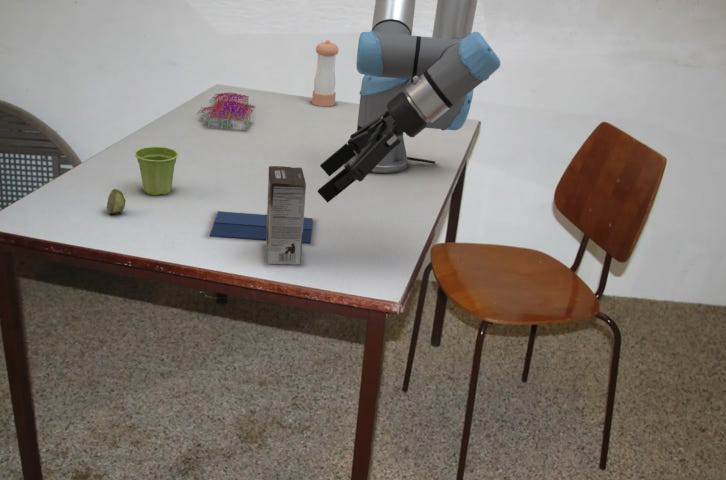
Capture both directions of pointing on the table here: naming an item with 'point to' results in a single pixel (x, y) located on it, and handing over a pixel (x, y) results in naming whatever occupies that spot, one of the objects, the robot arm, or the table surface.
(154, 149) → the plant pot
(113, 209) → the lime
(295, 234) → the coffee box
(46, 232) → the table surface
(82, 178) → the table surface
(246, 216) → the napkin
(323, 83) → the pepper shaker
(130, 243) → the table surface
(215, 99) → the pink and grey package
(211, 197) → the table surface
